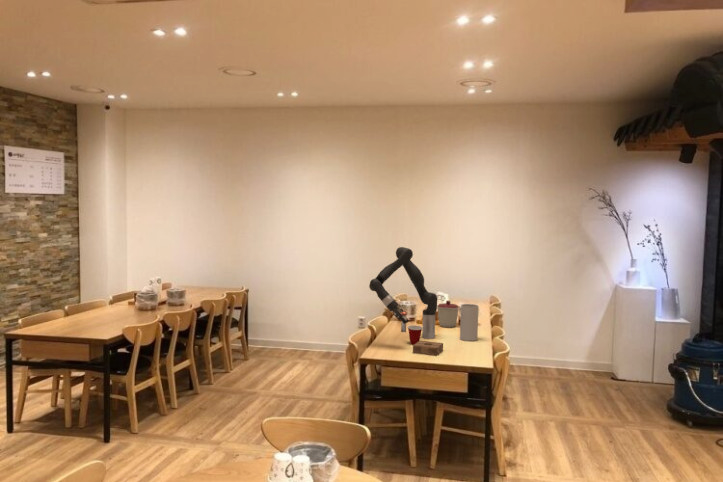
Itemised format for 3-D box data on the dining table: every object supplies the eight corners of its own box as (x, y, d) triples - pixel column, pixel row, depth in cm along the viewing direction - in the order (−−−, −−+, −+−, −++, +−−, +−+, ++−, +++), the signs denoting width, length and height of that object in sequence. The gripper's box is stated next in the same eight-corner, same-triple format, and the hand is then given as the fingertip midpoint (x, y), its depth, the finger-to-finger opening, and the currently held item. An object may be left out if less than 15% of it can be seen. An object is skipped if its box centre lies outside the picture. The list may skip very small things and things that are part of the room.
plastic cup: (409, 345, 394) (409, 328, 394) (405, 342, 405) (405, 325, 404) (424, 345, 396) (424, 328, 396) (419, 341, 407) (420, 325, 406)
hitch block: (420, 347, 389) (420, 340, 388) (443, 350, 382) (443, 343, 382) (412, 352, 374) (413, 345, 374) (436, 355, 368) (436, 348, 367)
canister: (434, 327, 459) (435, 301, 458) (438, 323, 476) (439, 298, 475) (457, 329, 454) (458, 303, 453) (460, 325, 471) (460, 299, 470)
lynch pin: (401, 330, 389) (402, 311, 389) (407, 331, 388) (408, 312, 387) (399, 332, 385) (399, 312, 385) (405, 332, 384) (406, 313, 383)
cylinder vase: (477, 341, 411) (478, 307, 409) (459, 340, 413) (460, 306, 412) (477, 338, 423) (478, 304, 422) (460, 337, 425) (461, 303, 424)
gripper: (390, 301, 382) (407, 320, 378) (397, 298, 395) (413, 317, 391) (382, 308, 384) (399, 328, 380) (390, 305, 397) (406, 324, 393)
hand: (406, 322), depth 385 cm, fingers closed on lynch pin, 3 cm apart
